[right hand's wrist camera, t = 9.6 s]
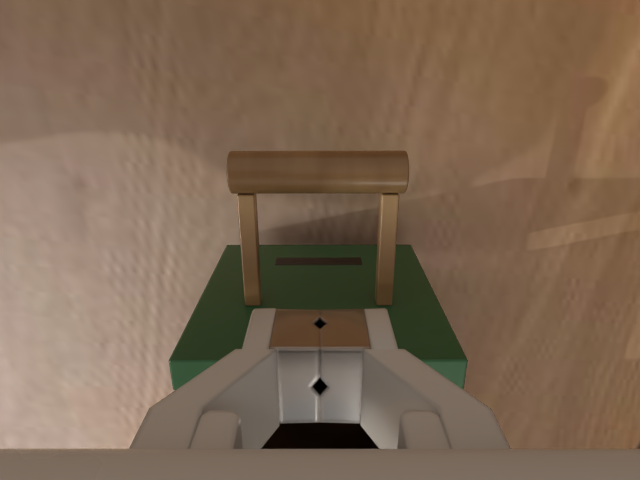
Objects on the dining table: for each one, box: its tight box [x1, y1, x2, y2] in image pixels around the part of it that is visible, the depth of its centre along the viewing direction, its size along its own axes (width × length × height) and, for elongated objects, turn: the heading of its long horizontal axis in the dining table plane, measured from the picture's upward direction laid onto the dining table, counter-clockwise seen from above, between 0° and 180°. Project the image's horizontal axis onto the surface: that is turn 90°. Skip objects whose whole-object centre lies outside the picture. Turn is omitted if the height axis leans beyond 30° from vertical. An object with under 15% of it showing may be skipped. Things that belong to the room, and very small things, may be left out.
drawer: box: [169, 151, 468, 449], centre depth 21 cm, size 25×9×10 cm, turn 0°
